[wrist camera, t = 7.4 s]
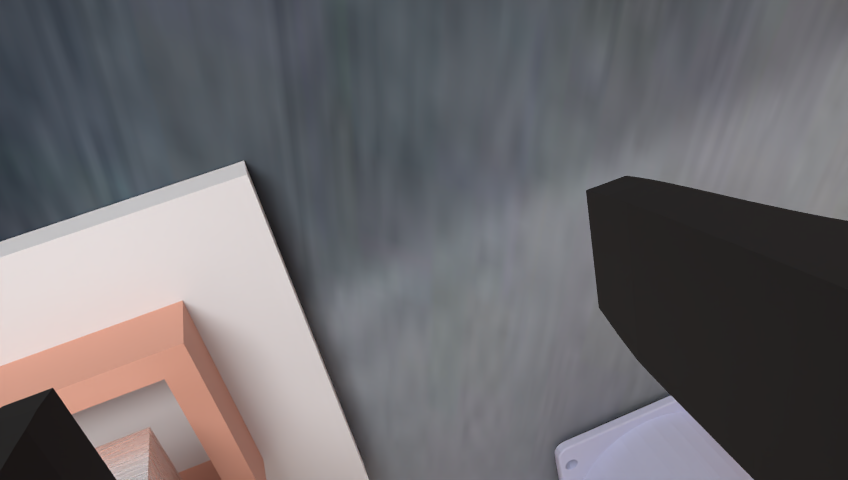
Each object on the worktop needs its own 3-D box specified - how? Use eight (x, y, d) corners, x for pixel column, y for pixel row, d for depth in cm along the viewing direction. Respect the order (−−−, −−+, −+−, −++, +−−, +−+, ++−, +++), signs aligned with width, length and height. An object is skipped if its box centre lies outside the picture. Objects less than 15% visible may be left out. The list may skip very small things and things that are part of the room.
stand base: (362, 460, 24) (389, 543, 21) (17, 604, 23) (-6, 716, 20) (244, 160, 18) (257, 217, 15) (-246, 323, 16) (-341, 425, 13)
